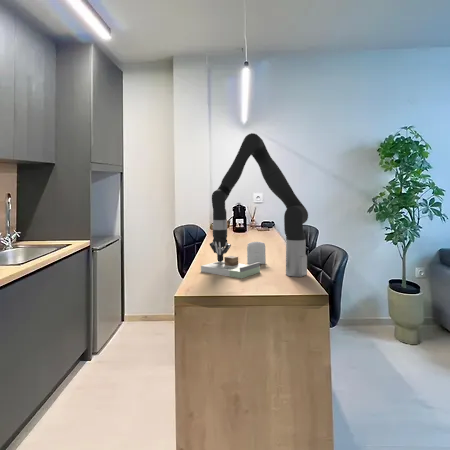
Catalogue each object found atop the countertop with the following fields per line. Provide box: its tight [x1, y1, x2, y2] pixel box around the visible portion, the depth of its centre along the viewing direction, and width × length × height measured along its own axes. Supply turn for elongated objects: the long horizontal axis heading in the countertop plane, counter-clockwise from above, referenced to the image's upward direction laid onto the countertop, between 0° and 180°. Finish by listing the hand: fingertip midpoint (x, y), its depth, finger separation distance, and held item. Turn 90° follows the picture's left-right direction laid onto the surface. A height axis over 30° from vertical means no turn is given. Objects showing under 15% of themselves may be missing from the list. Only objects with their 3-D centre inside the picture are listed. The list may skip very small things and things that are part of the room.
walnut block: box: [223, 255, 239, 266], centre depth 192 cm, size 5×5×4 cm
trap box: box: [200, 260, 261, 279], centre depth 189 cm, size 25×16×5 cm, turn 53°
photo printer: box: [246, 241, 267, 265], centre depth 209 cm, size 10×4×12 cm, turn 96°
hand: (220, 261), depth 197 cm, fingers closed
